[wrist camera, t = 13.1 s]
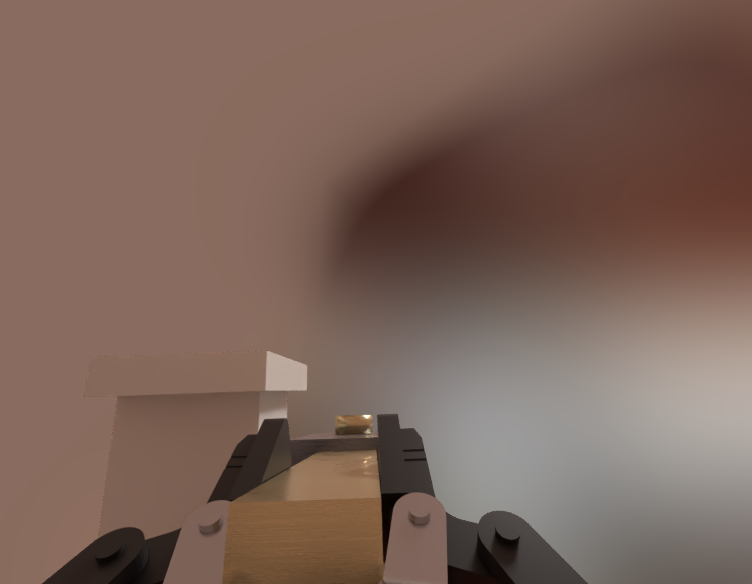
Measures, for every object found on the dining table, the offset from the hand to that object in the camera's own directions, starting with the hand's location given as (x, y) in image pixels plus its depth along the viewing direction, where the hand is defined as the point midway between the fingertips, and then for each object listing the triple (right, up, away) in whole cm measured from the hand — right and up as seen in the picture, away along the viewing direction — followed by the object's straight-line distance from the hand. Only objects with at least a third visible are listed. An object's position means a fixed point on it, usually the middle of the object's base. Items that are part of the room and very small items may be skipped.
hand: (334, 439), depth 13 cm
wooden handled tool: (0, -4, +5) cm, 6 cm away
